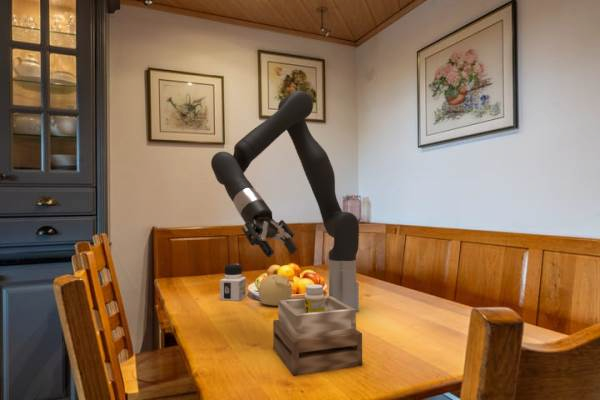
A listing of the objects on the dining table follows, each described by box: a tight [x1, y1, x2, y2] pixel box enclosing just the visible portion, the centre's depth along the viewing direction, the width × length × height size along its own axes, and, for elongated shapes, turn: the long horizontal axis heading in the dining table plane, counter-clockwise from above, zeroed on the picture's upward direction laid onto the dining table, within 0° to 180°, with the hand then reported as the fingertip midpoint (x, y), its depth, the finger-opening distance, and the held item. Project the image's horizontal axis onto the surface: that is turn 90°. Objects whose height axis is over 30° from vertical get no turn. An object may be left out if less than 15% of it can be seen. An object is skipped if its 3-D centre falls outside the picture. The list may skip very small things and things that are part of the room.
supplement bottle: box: [303, 284, 326, 313], centre depth 90 cm, size 5×5×8 cm
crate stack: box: [272, 295, 363, 377], centre depth 90 cm, size 16×16×12 cm
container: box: [219, 263, 247, 302], centre depth 147 cm, size 8×8×13 cm
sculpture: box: [258, 273, 293, 307], centre depth 138 cm, size 11×12×11 cm
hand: (283, 253), depth 97 cm, fingers open, 8 cm apart
